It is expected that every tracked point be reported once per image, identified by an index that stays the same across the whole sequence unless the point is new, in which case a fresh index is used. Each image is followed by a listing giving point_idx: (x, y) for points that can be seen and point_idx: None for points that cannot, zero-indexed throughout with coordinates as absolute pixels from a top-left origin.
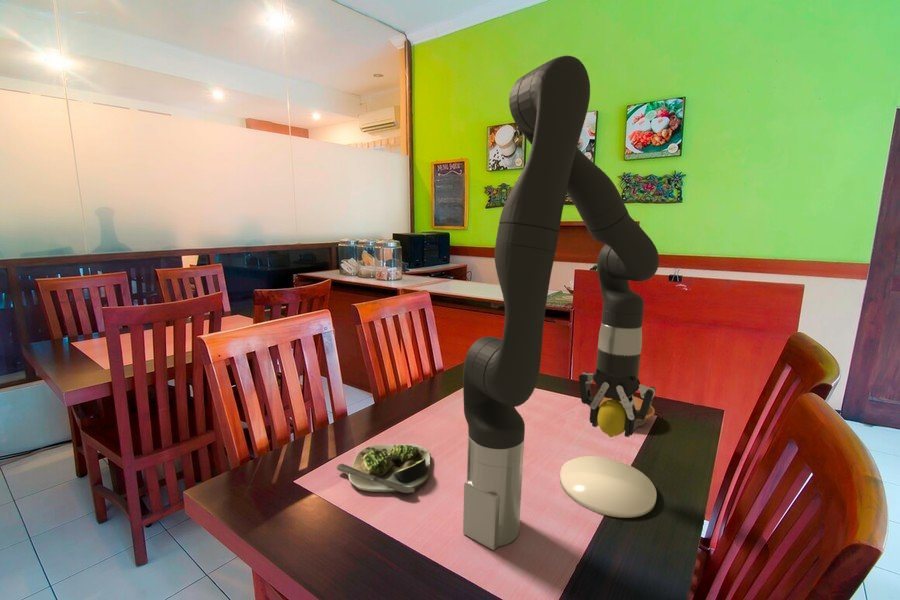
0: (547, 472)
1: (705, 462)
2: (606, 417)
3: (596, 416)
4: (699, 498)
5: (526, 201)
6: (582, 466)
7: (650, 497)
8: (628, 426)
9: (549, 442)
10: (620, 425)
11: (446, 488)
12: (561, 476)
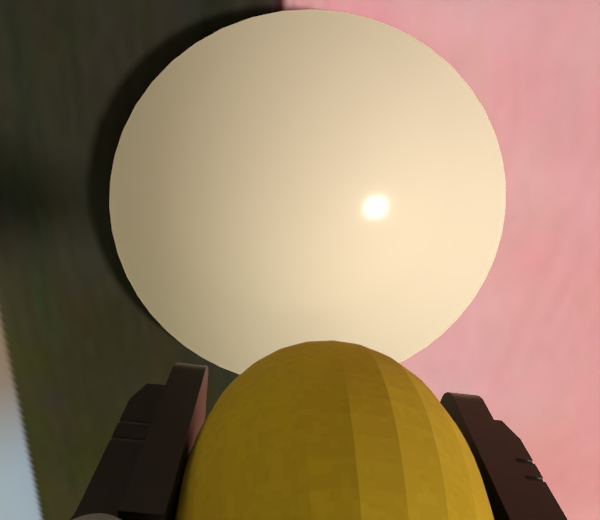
0: (550, 197)
1: (44, 506)
2: (397, 456)
3: (488, 478)
4: (2, 318)
5: None
6: (415, 283)
7: (129, 210)
8: (153, 438)
9: (551, 396)
10: (227, 416)
11: None
12: (499, 164)
